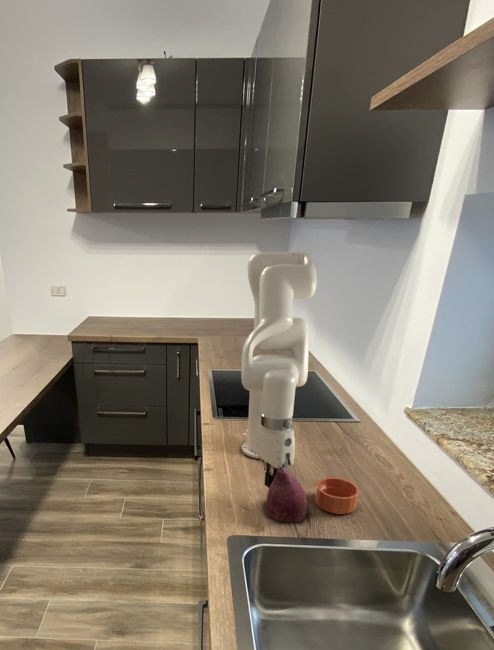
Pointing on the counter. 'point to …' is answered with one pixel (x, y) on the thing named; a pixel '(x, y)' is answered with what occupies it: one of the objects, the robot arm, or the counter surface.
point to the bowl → (336, 495)
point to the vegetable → (286, 498)
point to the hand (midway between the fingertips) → (271, 485)
